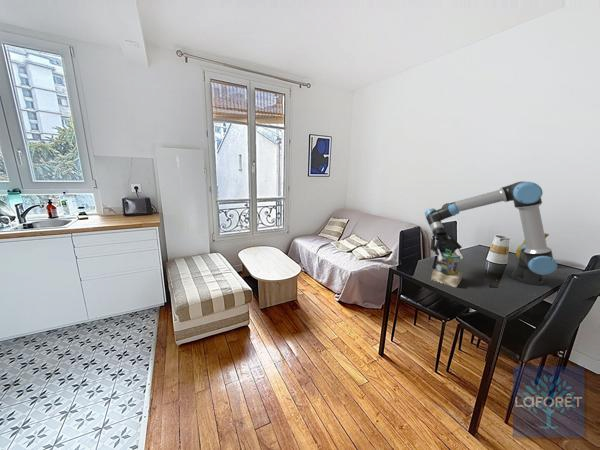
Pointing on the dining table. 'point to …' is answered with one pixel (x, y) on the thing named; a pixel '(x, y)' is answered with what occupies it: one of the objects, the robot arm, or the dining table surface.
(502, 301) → the dining table surface
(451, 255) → the chalk box
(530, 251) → the robot arm
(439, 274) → the birch block
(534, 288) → the dining table surface
